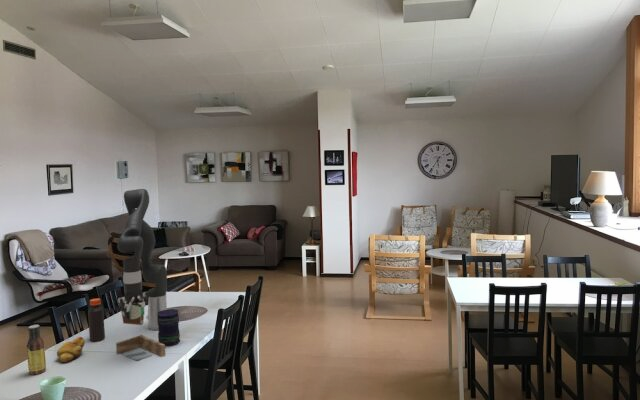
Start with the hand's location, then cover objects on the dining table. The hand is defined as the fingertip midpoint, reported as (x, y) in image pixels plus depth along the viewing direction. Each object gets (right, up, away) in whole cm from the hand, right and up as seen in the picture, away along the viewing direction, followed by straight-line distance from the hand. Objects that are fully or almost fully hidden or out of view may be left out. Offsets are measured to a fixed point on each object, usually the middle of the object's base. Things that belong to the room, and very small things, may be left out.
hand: (134, 317), depth 210 cm
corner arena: (+2, -17, +1) cm, 17 cm away
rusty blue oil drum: (+11, -16, +15) cm, 25 cm away
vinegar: (-27, -16, +21) cm, 38 cm away
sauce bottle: (-35, -19, -15) cm, 42 cm away
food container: (0, -2, +1) cm, 3 cm away
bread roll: (-29, -18, 0) cm, 34 cm away
